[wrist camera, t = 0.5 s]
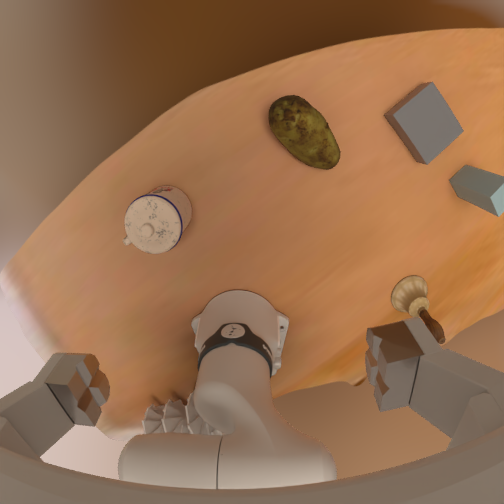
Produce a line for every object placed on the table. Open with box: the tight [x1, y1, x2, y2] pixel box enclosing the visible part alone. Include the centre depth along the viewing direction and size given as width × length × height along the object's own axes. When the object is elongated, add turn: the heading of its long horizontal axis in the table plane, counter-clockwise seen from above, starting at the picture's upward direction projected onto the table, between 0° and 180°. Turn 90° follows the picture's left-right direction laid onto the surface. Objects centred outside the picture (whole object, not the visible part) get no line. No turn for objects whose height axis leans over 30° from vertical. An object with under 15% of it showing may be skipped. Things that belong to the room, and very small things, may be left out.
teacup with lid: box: [123, 186, 192, 254], centre depth 48 cm, size 12×9×12 cm
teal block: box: [449, 165, 504, 217], centre depth 43 cm, size 4×5×13 cm
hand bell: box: [391, 276, 445, 344], centre depth 51 cm, size 8×8×16 cm
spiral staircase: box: [142, 391, 226, 435], centre depth 63 cm, size 18×18×25 cm
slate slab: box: [384, 82, 463, 165], centre depth 44 cm, size 10×10×4 cm
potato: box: [269, 95, 340, 169], centre depth 44 cm, size 8×13×8 cm, turn 25°
